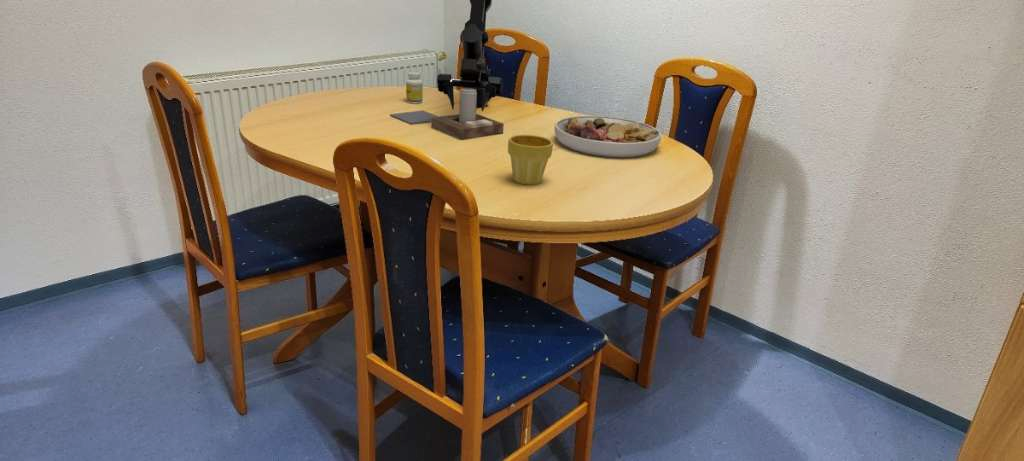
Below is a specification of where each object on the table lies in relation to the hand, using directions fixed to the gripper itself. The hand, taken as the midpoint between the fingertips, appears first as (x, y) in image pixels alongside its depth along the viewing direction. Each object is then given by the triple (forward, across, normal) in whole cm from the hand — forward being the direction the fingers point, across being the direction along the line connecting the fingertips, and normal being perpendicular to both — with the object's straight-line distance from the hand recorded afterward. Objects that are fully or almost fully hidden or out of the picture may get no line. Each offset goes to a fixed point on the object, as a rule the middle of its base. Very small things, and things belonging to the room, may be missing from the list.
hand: (467, 109), depth 193 cm
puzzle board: (+4, 0, +6) cm, 7 cm away
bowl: (+8, +40, +2) cm, 41 cm away
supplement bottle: (-19, -20, +29) cm, 40 cm away
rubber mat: (-4, -16, +13) cm, 21 cm away
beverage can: (+4, 0, +6) cm, 7 cm away
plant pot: (+33, +18, -24) cm, 44 cm away
